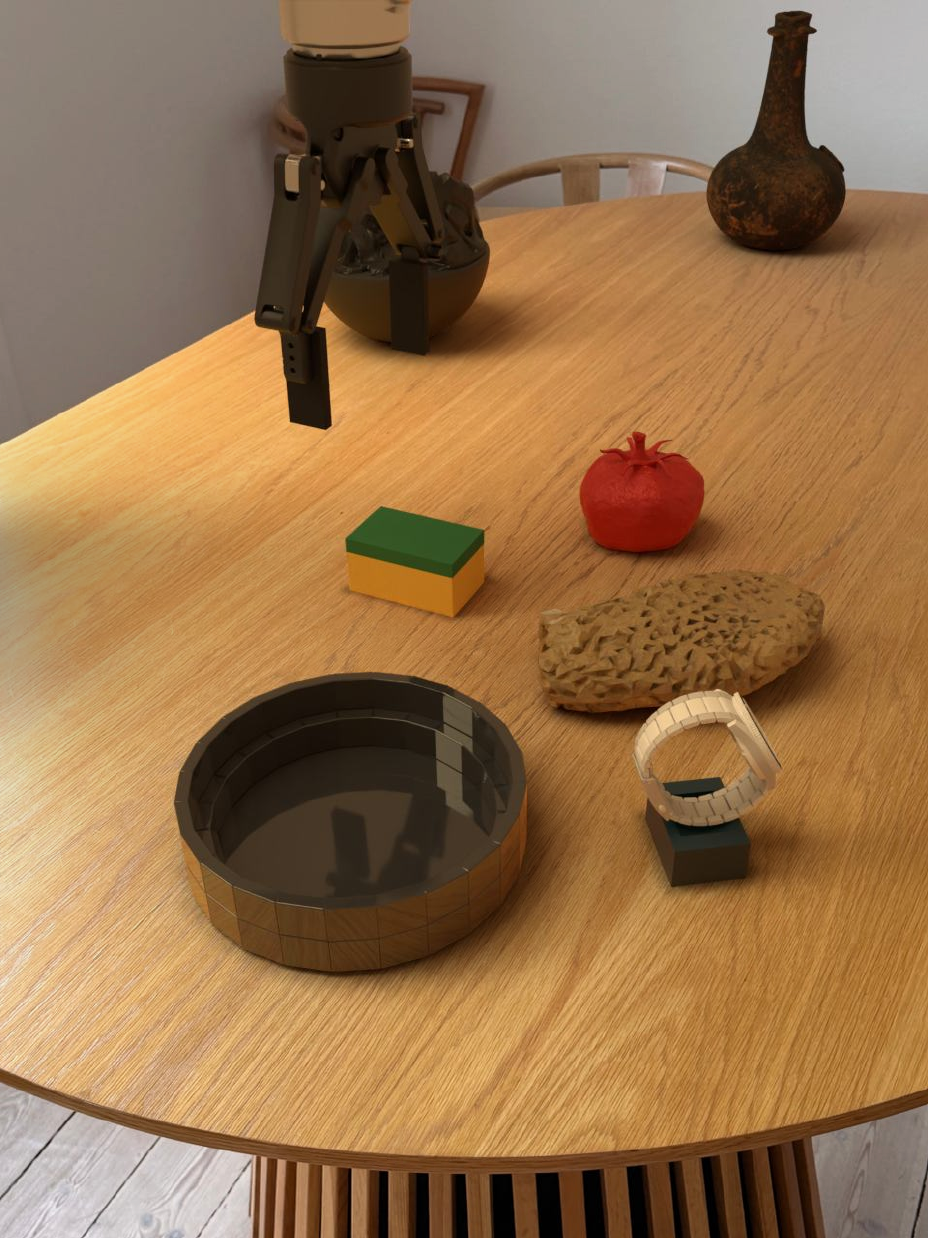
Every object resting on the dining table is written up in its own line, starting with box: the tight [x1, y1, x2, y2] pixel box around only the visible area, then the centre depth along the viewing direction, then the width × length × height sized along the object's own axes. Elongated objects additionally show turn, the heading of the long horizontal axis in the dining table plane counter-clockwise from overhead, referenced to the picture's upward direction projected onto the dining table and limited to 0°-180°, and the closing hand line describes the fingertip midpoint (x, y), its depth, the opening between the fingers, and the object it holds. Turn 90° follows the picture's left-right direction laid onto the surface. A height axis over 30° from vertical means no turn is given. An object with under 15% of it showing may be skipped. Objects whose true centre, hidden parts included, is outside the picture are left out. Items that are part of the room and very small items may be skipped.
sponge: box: [538, 569, 826, 714], centre depth 83 cm, size 13×8×20 cm
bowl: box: [173, 671, 528, 973], centre depth 70 cm, size 20×20×6 cm
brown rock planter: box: [323, 170, 491, 343], centre depth 133 cm, size 20×20×19 cm
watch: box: [631, 689, 784, 888], centre depth 68 cm, size 6×8×11 cm
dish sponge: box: [344, 505, 485, 618], centre depth 93 cm, size 9×6×5 cm, turn 64°
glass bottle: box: [705, 10, 847, 251], centre depth 157 cm, size 18×18×28 cm
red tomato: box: [578, 431, 705, 553], centre depth 98 cm, size 10×10×9 cm
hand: (363, 385), depth 83 cm, fingers open, 13 cm apart
